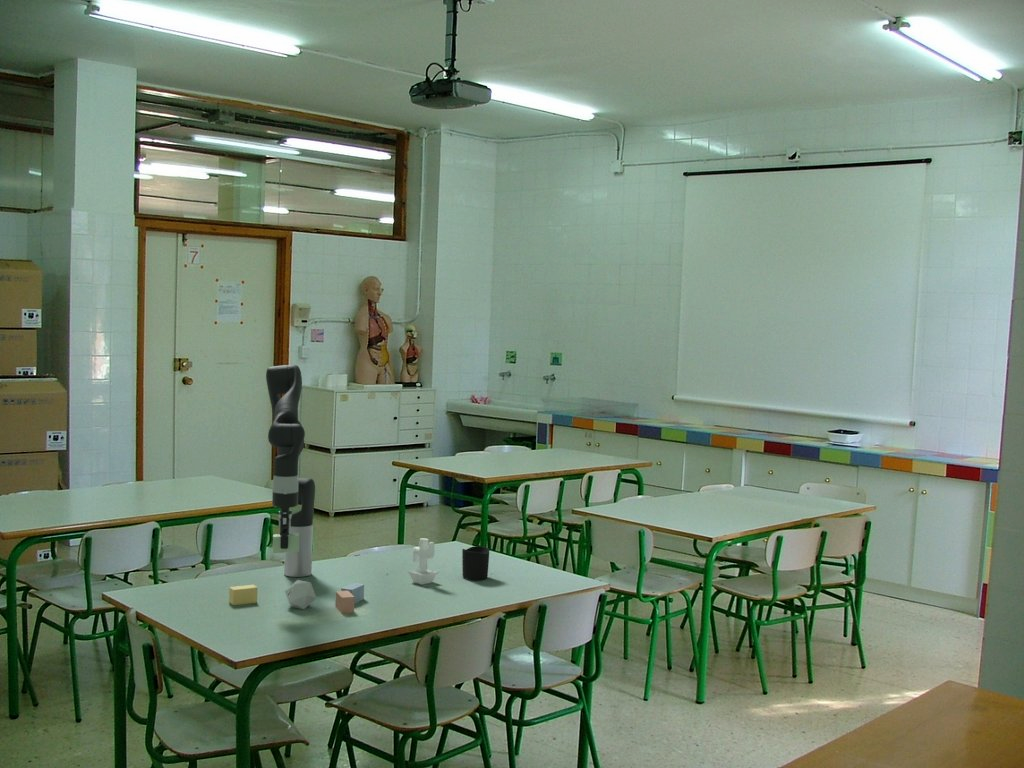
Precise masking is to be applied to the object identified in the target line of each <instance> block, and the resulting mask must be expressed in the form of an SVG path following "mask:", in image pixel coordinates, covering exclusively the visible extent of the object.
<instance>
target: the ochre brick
mask: <svg viewBox="0 0 1024 768" xmlns="http://www.w3.org/2000/svg"><path fill="white" fill-rule="evenodd" d="M228 590H229V591H228V594H229V595H228V596H229V597H228V603H229V604H231V605H232V606H237V605H240V606H241V605H247V604H255V603H258V586H256V585H255V584H246V585H236V586H229V589H228Z"/></svg>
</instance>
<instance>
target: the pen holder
mask: <svg viewBox="0 0 1024 768" xmlns="http://www.w3.org/2000/svg"><path fill="white" fill-rule="evenodd" d="M461 554H462V555H461V556H462V558H461V559H462V561H461V562H462V578H463V579H465V580H469V581H484V580H487V578H488V574H489V563H490V562H489V561H490V548H488V547H486V546H478V545H475V546H471V547H469V548H466V549H465V548H462V552H461Z"/></svg>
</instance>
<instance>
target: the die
mask: <svg viewBox="0 0 1024 768" xmlns="http://www.w3.org/2000/svg"><path fill="white" fill-rule="evenodd" d="M284 593H285V595H286V598H287V600H288V604H289V606H290V608H295V609H300V610H305V609H306V608H307V607H309V605H311V604H312V602H314V601H315V600H316V599H317V596H316V592H315V590H314V588H313V585H312V582H310V581H307V580H306V581H305V580H301V579H297V580H295V581H294V583H292V584H291V585H290V586H289V587H288V588H287V589H286V590H285V591H284Z"/></svg>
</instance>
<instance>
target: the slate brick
mask: <svg viewBox="0 0 1024 768" xmlns="http://www.w3.org/2000/svg"><path fill="white" fill-rule="evenodd" d="M340 591H349V592H350V593H351V594H352V595H353V596H354V604H356V603H359V602H361V601H363V600H365V584H363V583H357V582H356V583H355V582H353V583H350V584H348V585H345V586H343V587H342V588H341V589H340Z"/></svg>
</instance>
